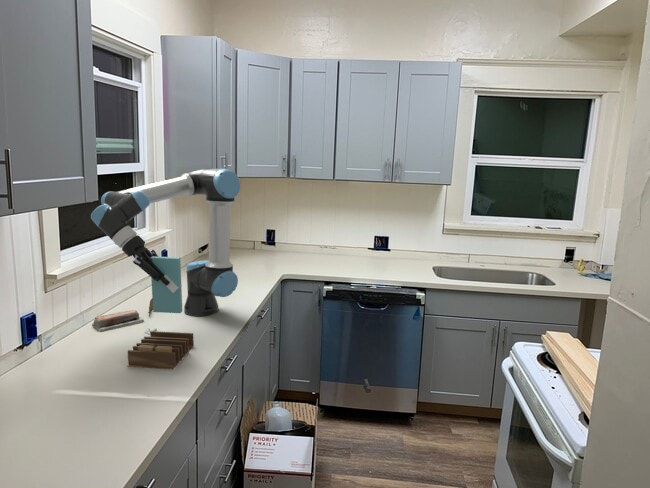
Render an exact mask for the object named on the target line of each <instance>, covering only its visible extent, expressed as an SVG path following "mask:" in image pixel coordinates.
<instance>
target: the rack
mask: <svg viewBox="0 0 650 488" xmlns="http://www.w3.org/2000/svg"><path fill="white" fill-rule="evenodd" d="M150 331H151V330H150ZM194 343H195V342H194V333H193V332H179V331H178V332H176V331H175V332H174V331H160V330H159V331H158V330H157V331H151V332H150V336H143V338H141V339H140V342H136V345H133V346H132V349H131V350H130V349H128V350H127V363H128V364H127V366H126V367H127V368H138V369H139V368H140V369H141V368H143V369H157V370H159V369H160V370H162V369H163V370H174V369H175V368H176V367H177V366H178V365H179V364H180V363H181V361H182V360H184V358H185V357H186V355H187V354H188V353H190V351H191V350H192V348H194V346H195V345H194ZM140 345H152V346H155V348H156V347H157V346H171V347H172V352H155V351H138V347H139V346H140Z"/></svg>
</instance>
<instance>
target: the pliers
mask: <svg viewBox="0 0 650 488" xmlns="http://www.w3.org/2000/svg"><path fill="white" fill-rule="evenodd" d="M151 331H158V329H157V328H156V327H155V328H153V329H151V328H150V327H147V329H145V331H144V334H148V335H150V332H151Z"/></svg>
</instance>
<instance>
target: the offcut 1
mask: <svg viewBox="0 0 650 488" xmlns="http://www.w3.org/2000/svg"><path fill="white" fill-rule="evenodd" d="M138 351H155V346H152V345H140V346H139V347H138Z"/></svg>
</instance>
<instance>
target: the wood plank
mask: <svg viewBox="0 0 650 488" xmlns="http://www.w3.org/2000/svg"><path fill="white" fill-rule="evenodd" d="M152 310H153V300H152V298H151V299H150V300H149V306H148V317H150V316H151V314H152V312H153V311H152Z"/></svg>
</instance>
